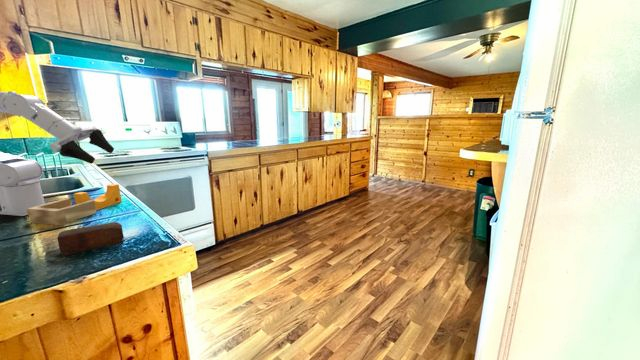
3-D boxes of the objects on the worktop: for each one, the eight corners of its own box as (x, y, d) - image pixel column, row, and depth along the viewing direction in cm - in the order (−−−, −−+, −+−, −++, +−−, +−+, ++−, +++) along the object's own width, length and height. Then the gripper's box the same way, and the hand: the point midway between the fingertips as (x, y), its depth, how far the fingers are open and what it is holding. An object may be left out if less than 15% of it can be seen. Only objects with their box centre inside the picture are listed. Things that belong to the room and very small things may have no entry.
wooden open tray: (30, 222, 70) (26, 208, 69) (68, 210, 79) (65, 198, 78) (60, 225, 69) (57, 211, 68) (96, 212, 78) (94, 200, 77)
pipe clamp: (111, 201, 89) (108, 183, 88) (121, 202, 88) (118, 184, 87) (73, 213, 78) (68, 193, 76) (85, 214, 77) (80, 194, 75)
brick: (61, 258, 53) (56, 237, 52) (64, 250, 56) (59, 231, 55) (124, 243, 59) (121, 224, 58) (124, 237, 62) (120, 219, 61)
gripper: (36, 125, 68) (87, 157, 72) (83, 110, 80) (124, 139, 84) (30, 142, 70) (80, 172, 75) (76, 125, 83) (116, 152, 87)
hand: (103, 155), depth 80 cm, fingers open, 7 cm apart
